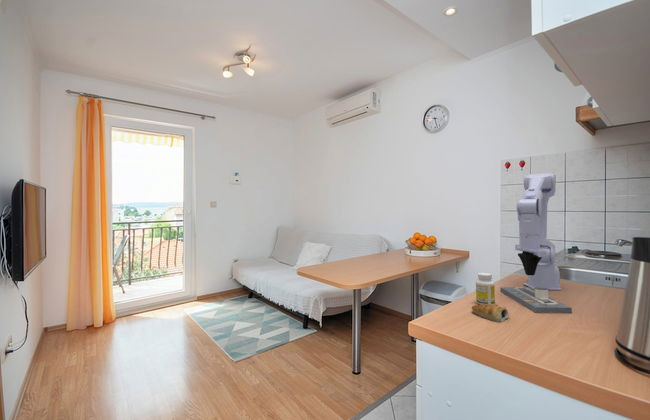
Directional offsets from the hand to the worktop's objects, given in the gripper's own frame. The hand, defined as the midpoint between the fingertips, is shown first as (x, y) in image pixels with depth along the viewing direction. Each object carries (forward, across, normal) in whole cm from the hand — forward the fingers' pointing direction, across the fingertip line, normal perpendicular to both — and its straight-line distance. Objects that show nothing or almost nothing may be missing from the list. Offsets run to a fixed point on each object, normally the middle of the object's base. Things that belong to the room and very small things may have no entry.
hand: (530, 274), depth 101 cm
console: (+8, +1, 0) cm, 9 cm away
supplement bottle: (+9, +4, -16) cm, 19 cm away
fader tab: (+7, +6, 0) cm, 9 cm away
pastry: (+9, +16, -19) cm, 26 cm away
